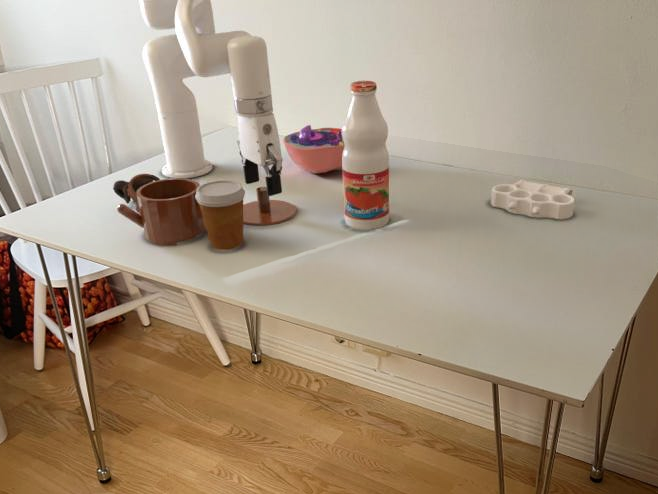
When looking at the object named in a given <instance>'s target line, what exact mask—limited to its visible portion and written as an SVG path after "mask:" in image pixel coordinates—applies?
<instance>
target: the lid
mask: <svg viewBox="0 0 658 494" xmlns="http://www.w3.org/2000/svg"><path fill="white" fill-rule="evenodd" d="M255 191H256V199H257V200H254V201H250V202H247V203H243V225H247V226H261V227H263V226H270V225H271V226H272V225H276V224H280V223H284V222H286V221H288V220H290V219H293V217H295V215H296V213H297V209H296V206H295V205H294V204H293V203H290V202H288V201H285V200H281V199H270V196H269V195H267V187H266V186H259V187H257V188H256V190H255Z"/></svg>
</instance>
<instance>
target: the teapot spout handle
mask: <svg viewBox="0 0 658 494" xmlns="http://www.w3.org/2000/svg"><path fill="white" fill-rule="evenodd" d="M116 211H117V212H118V213H119V214H120V215H122V216H123V217H125V218H126V219H128V220H129V221H131V222H132V223H134V224H136V225H137V226H138V227H140V228H142V229H144V227H143V222H142V218H141V213H139V212H137V211H135V210H133V209H132V208H131V207H129V206H128V205H126V204H125V203H120V204H118V205H117V208H116Z"/></svg>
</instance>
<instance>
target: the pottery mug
mask: <svg viewBox="0 0 658 494" xmlns="http://www.w3.org/2000/svg"><path fill="white" fill-rule="evenodd" d="M158 180H161V179H160V178H159V177H158V176H156V175H154V174H150V173H139V174H136V175H134V176H133V177H131V178H130V180H129V181H126V180H124V179H123V180H122V179H121V180H119V179H118V180H117V181H115V182H114V183H113V186H112V190H113V192H114V193H115V195H116V196H118V197H119V198H121V199H123V200H124V201H125V203H126V204H127V205H128V204H130V202H131V200H132V202H133V203H136V205H135V206H136V207H135V210H136V211H135V212H137V213H140V208H139V204H138V199H137V194H136V191H137V190H138V189H139V188H140V187H142V186H143V185H145V184H148V183H151V182H154V181H158Z"/></svg>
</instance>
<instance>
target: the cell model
mask: <svg viewBox="0 0 658 494" xmlns="http://www.w3.org/2000/svg"><path fill="white" fill-rule="evenodd" d="M282 143H283V145H284V147H285V149H286V152H287V154H288V156H289V158H290V159H291V160H292V161H293V163H294V164H295V165H296V167H298V168H300V169H301V170H304V171H306V172H307V173H311V174H314V175H316V174H323V173H328V172H332V171H341V170H342V154H343V150H344V147H345V146H344V141H343V138H342V128H340V127H339V128H338V127H320V128H313V129H312V125H311V124H308V125H306V126H304V127H303V128H301V129H300V130H299V131H296V132H293V133H290V134H287V135H285V136H284V137H283V138H282Z"/></svg>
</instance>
